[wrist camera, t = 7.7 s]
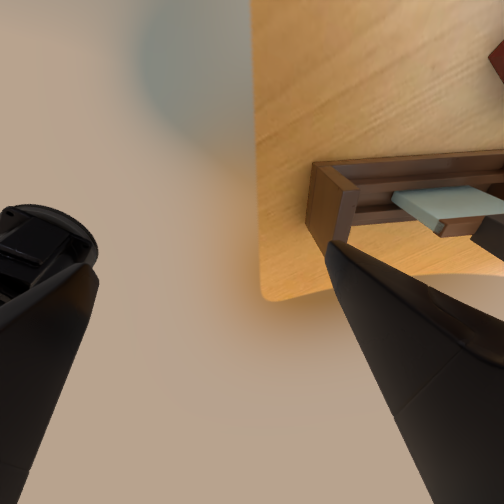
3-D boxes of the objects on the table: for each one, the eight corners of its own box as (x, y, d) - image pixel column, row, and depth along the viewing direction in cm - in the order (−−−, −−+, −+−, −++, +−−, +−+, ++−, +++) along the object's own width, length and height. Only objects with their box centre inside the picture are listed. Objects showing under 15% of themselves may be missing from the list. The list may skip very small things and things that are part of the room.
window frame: (304, 223, 23) (327, 263, 18) (312, 162, 19) (343, 191, 14) (471, 209, 24) (535, 243, 19) (508, 148, 20) (599, 171, 16)
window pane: (388, 205, 21) (487, 281, 13) (395, 184, 20) (510, 255, 12) (458, 199, 22) (595, 270, 14) (470, 178, 20) (628, 243, 12)
